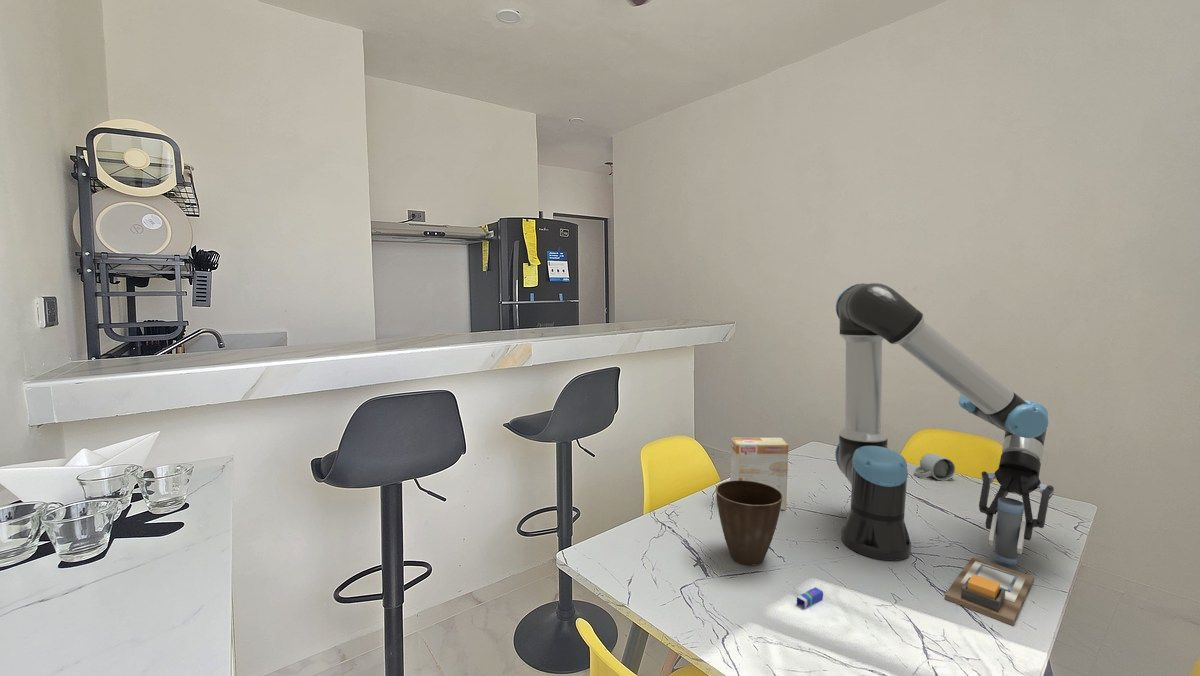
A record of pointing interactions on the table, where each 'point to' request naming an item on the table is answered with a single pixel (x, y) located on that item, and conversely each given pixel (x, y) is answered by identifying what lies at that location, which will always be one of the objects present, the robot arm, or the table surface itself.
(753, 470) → the coffeecake box
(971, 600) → the wooden board
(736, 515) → the plant pot
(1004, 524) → the cup
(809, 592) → the eraser
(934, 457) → the ceramic mug
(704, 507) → the table surface
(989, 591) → the button
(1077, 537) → the table surface
